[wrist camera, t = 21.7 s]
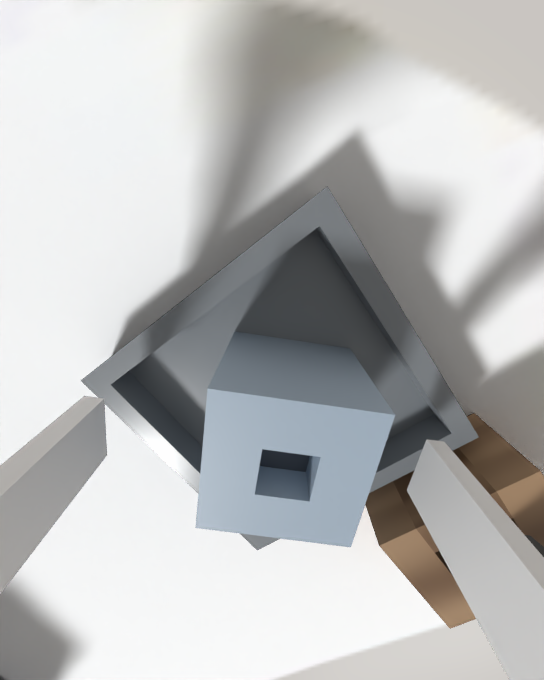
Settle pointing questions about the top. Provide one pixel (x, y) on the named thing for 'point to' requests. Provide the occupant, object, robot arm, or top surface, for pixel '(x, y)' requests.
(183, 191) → the top surface
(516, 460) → the go block
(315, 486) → the block
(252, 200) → the top surface
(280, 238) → the tray
